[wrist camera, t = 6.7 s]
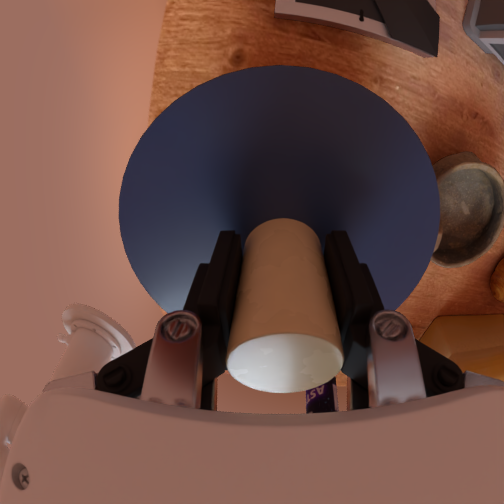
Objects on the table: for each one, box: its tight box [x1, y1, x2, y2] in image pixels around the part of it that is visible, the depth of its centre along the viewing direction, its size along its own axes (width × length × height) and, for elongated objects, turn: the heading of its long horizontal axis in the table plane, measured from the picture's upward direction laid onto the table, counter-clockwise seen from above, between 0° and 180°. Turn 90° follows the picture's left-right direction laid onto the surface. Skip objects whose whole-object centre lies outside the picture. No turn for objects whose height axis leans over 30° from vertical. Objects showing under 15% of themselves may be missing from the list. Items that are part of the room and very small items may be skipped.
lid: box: [119, 65, 440, 393], centre depth 10 cm, size 15×15×7 cm
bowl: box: [431, 151, 504, 268], centre depth 23 cm, size 14×18×10 cm
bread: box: [419, 314, 504, 381], centre depth 35 cm, size 24×13×15 cm, turn 86°
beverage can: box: [306, 377, 339, 414], centre depth 43 cm, size 6×6×12 cm
